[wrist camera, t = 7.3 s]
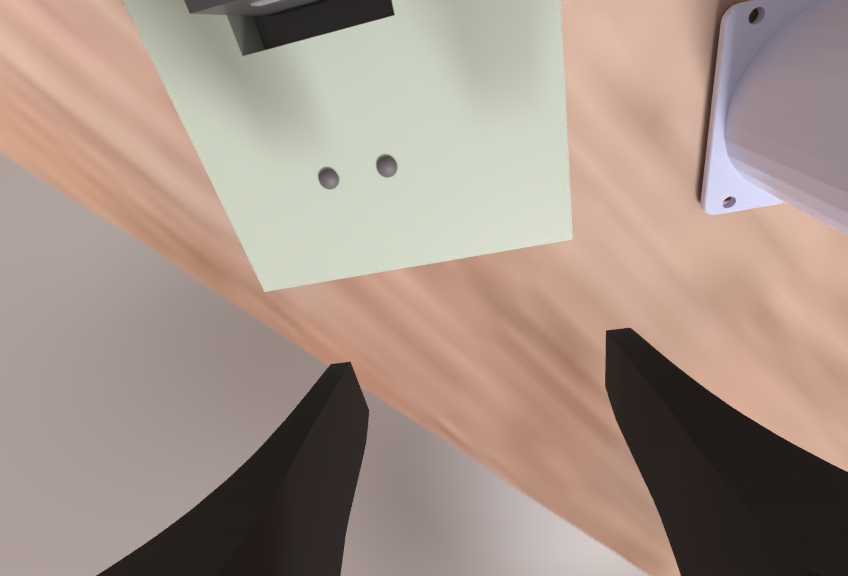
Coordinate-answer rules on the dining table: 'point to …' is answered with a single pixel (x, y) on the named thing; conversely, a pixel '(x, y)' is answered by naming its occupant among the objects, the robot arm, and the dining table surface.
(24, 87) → the dining table surface
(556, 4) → the outlet plate
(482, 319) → the dining table surface
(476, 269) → the dining table surface
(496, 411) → the dining table surface
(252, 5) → the grey rectangular block
